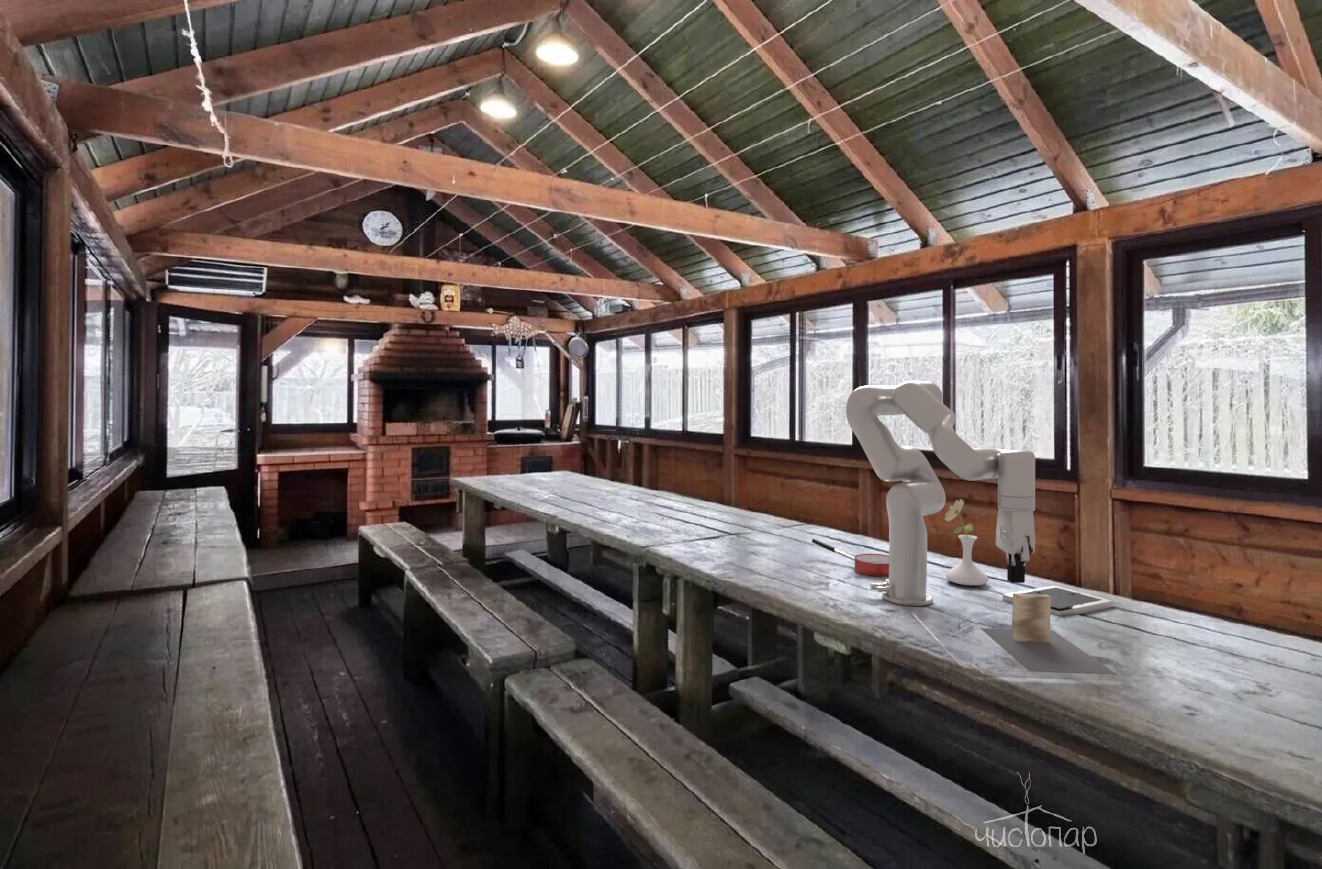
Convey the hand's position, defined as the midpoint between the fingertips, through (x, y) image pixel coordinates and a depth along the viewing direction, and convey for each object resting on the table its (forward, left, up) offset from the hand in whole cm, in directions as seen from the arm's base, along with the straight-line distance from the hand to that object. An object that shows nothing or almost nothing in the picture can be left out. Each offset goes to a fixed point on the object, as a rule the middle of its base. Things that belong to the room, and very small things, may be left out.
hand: (1016, 581), depth 150 cm
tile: (0, -9, -11) cm, 14 cm away
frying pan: (-27, +56, -12) cm, 63 cm away
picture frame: (+20, +21, -12) cm, 31 cm away
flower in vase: (+3, +38, -12) cm, 40 cm away
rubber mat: (0, -14, -11) cm, 18 cm away
